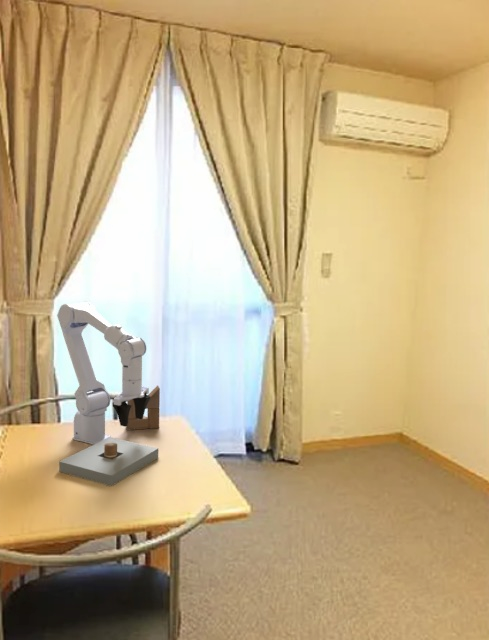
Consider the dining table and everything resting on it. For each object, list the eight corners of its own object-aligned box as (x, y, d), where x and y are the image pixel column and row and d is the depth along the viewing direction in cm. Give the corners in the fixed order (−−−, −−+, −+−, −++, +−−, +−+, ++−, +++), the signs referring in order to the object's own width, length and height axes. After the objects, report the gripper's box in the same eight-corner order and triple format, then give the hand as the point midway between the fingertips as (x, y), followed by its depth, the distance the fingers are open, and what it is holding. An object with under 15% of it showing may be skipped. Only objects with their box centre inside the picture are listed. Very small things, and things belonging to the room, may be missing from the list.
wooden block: (159, 428, 201) (160, 377, 198) (127, 430, 197) (127, 378, 194) (157, 424, 204) (158, 374, 201) (126, 426, 201) (126, 375, 198)
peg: (101, 465, 169) (101, 445, 168) (109, 461, 172) (109, 441, 171) (111, 468, 167) (112, 448, 166) (119, 463, 171) (120, 444, 170)
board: (59, 471, 164) (59, 461, 163) (109, 446, 183) (109, 436, 183) (111, 486, 156) (111, 475, 156) (158, 457, 176) (158, 448, 175)
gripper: (127, 386, 168) (127, 431, 170) (157, 375, 181) (156, 417, 183) (108, 382, 171) (108, 427, 173) (138, 371, 184) (137, 413, 186)
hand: (131, 422), depth 178 cm, fingers open, 7 cm apart
